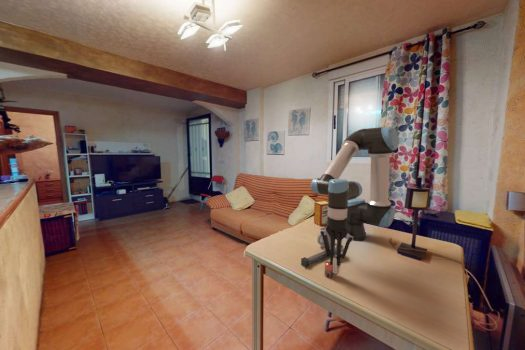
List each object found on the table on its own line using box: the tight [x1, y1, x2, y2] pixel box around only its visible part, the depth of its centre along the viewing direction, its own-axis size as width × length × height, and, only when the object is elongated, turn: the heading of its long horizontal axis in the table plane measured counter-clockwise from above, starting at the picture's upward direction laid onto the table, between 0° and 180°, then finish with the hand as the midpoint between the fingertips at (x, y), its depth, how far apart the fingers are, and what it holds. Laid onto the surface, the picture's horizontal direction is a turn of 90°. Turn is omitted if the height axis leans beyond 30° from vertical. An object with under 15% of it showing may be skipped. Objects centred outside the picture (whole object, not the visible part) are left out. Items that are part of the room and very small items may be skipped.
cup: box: [316, 227, 331, 249], centre depth 109 cm, size 7×10×9 cm
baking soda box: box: [313, 200, 328, 227], centre depth 142 cm, size 10×6×16 cm
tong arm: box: [324, 242, 344, 278], centre depth 92 cm, size 22×6×5 cm, turn 150°
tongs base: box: [300, 248, 331, 269], centre depth 95 cm, size 22×6×4 cm, turn 124°
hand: (335, 271), depth 83 cm, fingers closed
